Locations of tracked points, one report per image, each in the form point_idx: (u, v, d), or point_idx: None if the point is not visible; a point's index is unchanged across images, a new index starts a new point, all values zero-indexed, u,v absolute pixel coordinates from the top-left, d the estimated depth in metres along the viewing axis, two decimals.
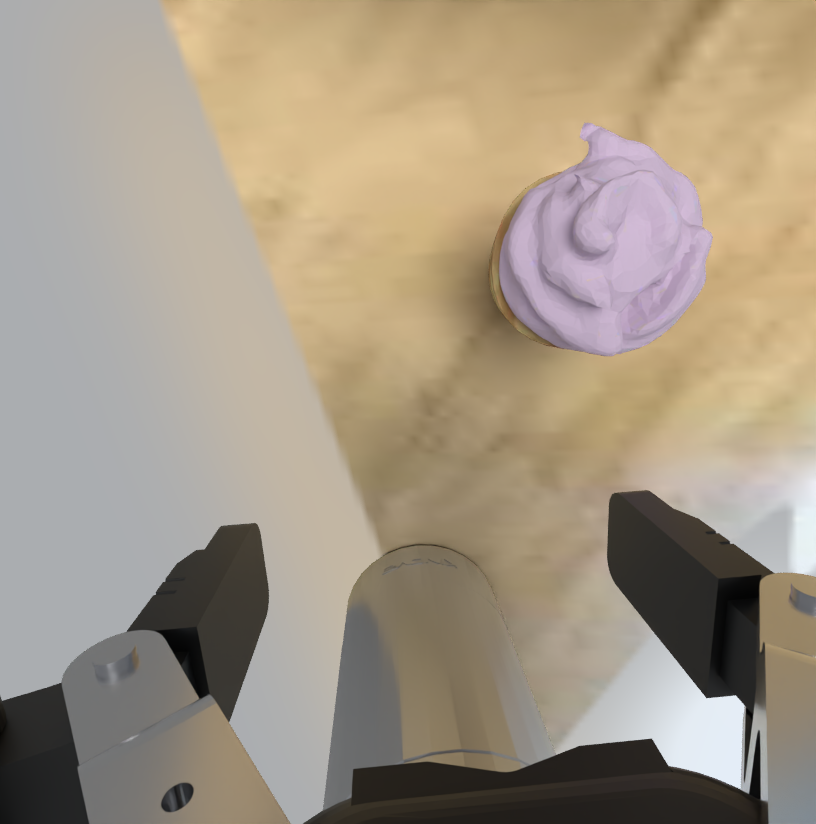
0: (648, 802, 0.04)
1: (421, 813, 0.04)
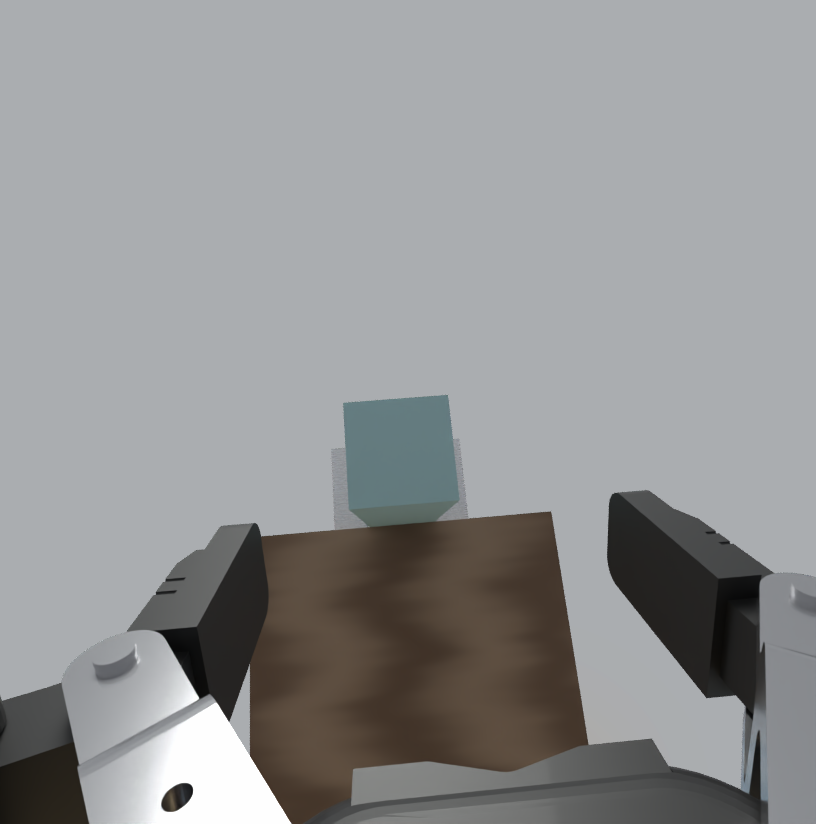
0: (648, 802, 0.04)
1: (421, 813, 0.04)
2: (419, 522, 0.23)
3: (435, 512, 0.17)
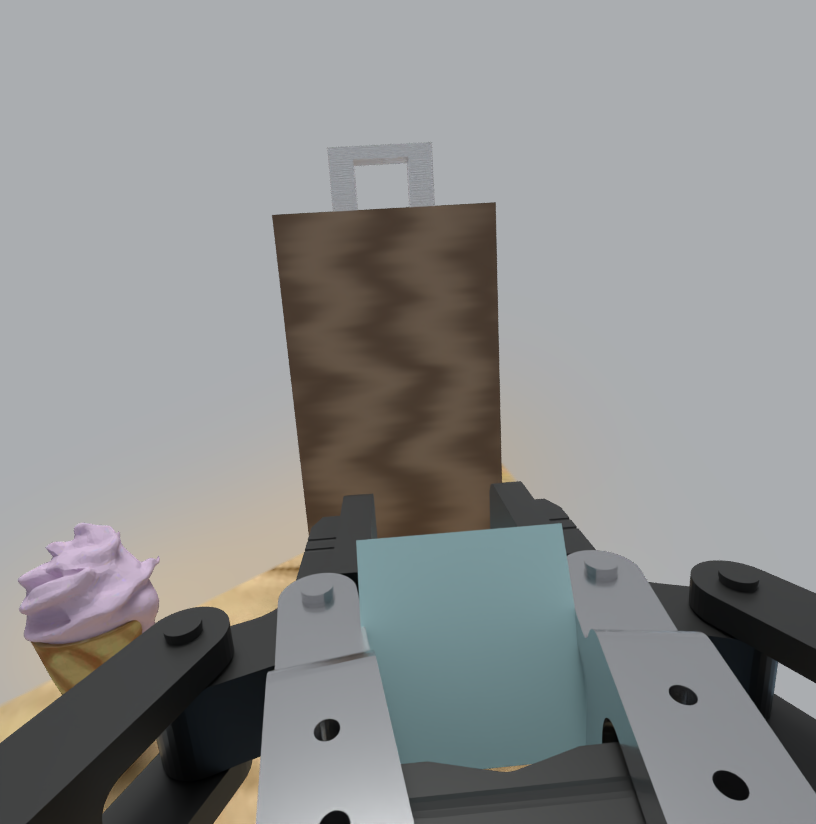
0: (648, 802, 0.04)
1: (421, 813, 0.04)
2: None
3: None
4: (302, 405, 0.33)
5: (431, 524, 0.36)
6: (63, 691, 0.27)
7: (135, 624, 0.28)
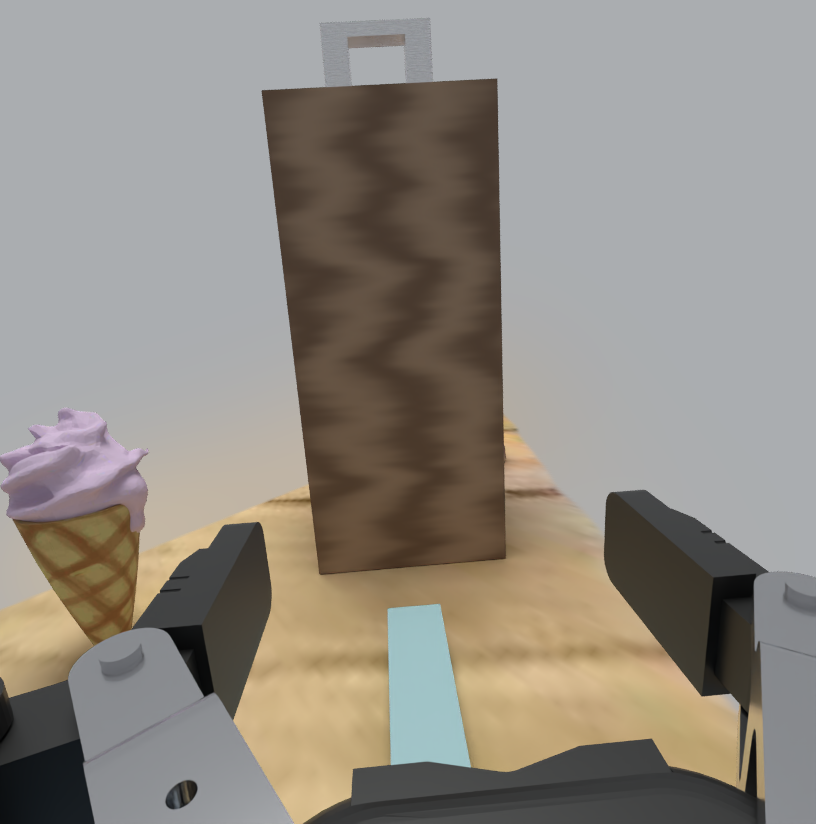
0: (648, 802, 0.04)
1: (421, 813, 0.04)
2: None
3: None
4: (295, 300, 0.32)
5: (430, 429, 0.35)
6: (49, 575, 0.26)
7: (122, 509, 0.27)
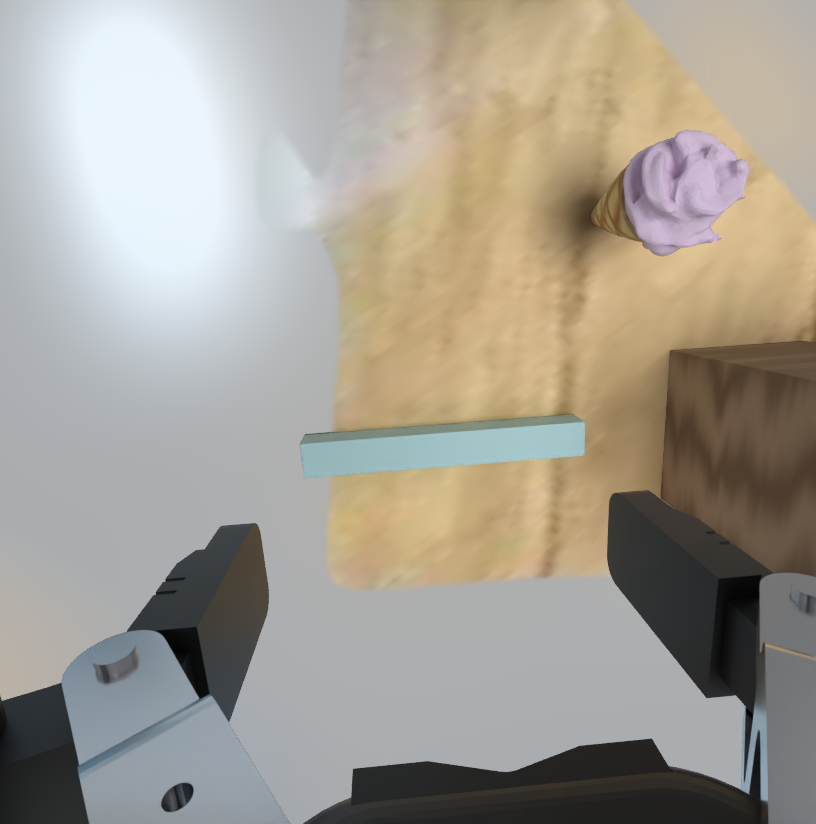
0: (648, 802, 0.04)
1: (421, 813, 0.04)
2: None
3: None
4: None
5: (745, 490, 0.35)
6: (609, 188, 0.34)
7: (645, 242, 0.32)
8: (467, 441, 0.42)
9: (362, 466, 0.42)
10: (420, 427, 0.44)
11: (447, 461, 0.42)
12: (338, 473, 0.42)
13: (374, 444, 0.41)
